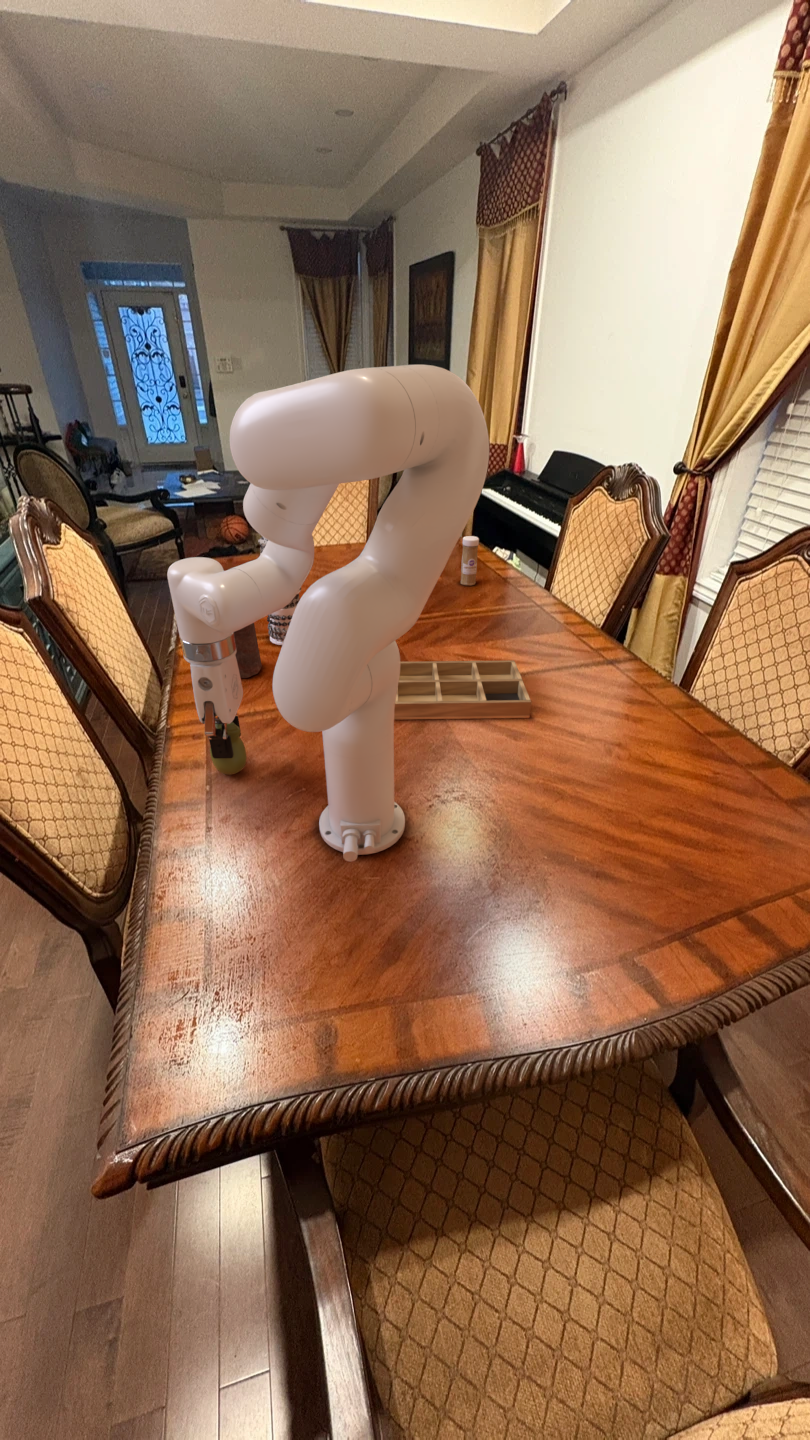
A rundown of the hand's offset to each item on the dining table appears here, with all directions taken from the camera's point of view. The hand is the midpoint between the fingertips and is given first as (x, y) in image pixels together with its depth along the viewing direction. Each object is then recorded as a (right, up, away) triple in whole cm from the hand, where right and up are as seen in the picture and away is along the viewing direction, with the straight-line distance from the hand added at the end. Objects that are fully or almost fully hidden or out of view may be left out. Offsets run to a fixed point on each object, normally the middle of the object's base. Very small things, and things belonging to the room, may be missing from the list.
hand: (227, 745), depth 98 cm
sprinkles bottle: (+47, +44, +80) cm, 103 cm away
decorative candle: (+1, +24, +48) cm, 53 cm away
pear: (0, -4, +3) cm, 5 cm away
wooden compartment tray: (+39, +9, +24) cm, 47 cm away
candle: (-6, +15, +33) cm, 37 cm away
